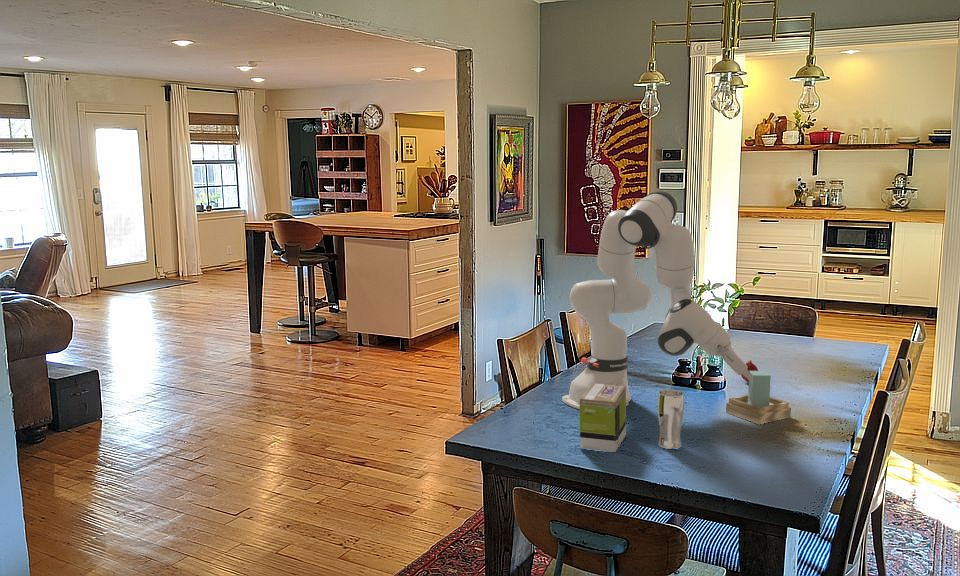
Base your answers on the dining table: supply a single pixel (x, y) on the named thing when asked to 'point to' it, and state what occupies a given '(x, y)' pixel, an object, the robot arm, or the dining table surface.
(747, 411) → the tray
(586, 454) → the dining table surface
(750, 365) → the onion
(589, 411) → the tea box
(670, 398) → the beer glass
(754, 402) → the block
